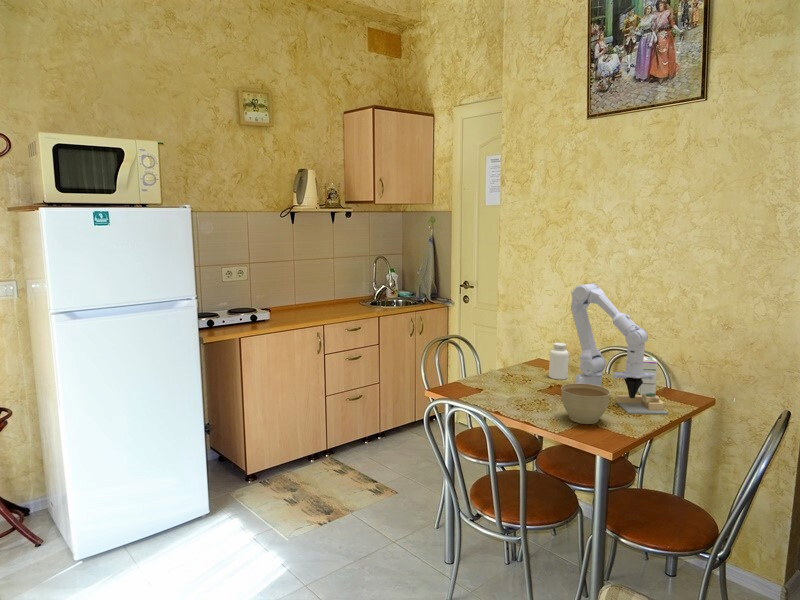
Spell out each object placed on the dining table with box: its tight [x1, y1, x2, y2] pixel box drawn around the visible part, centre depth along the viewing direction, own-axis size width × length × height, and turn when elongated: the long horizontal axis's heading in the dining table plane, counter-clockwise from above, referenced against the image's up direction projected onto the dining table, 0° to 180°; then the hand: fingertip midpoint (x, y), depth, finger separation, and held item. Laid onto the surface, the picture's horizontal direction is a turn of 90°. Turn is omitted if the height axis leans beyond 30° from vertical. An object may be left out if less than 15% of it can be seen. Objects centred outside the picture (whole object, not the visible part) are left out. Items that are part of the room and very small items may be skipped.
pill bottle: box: [548, 342, 570, 381], centre depth 243 cm, size 8×8×15 cm
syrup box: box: [637, 356, 658, 395], centre depth 221 cm, size 6×6×14 cm
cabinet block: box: [641, 392, 661, 409], centre depth 205 cm, size 4×4×5 cm
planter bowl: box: [560, 382, 611, 425], centre depth 192 cm, size 16×16×11 cm
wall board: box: [616, 394, 669, 415], centre depth 204 cm, size 14×12×3 cm
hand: (631, 397), depth 206 cm, fingers closed
